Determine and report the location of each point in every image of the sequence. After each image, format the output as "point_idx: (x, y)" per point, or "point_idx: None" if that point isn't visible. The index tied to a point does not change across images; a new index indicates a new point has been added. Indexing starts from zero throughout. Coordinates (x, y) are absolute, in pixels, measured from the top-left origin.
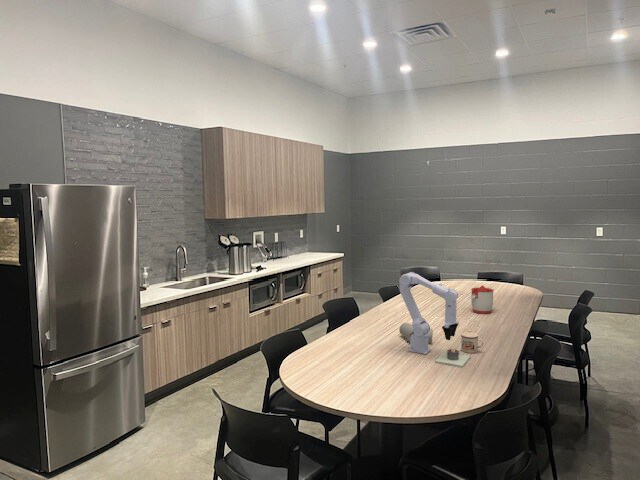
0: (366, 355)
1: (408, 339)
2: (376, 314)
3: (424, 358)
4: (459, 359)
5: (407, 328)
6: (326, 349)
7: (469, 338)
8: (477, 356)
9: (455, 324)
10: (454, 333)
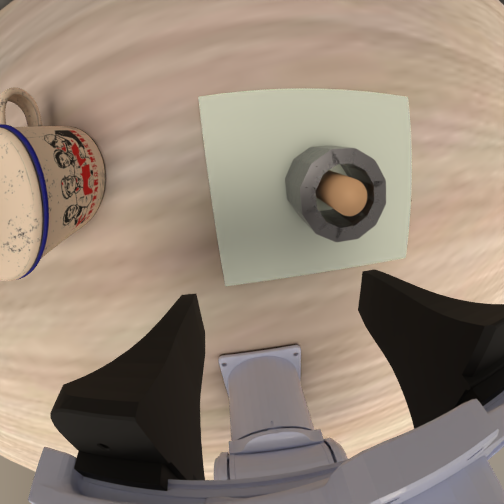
0: (388, 426)
1: None
2: None
3: (360, 320)
4: (318, 138)
5: None
6: None
7: (39, 167)
8: (134, 79)
9: (161, 433)
10: (189, 313)
